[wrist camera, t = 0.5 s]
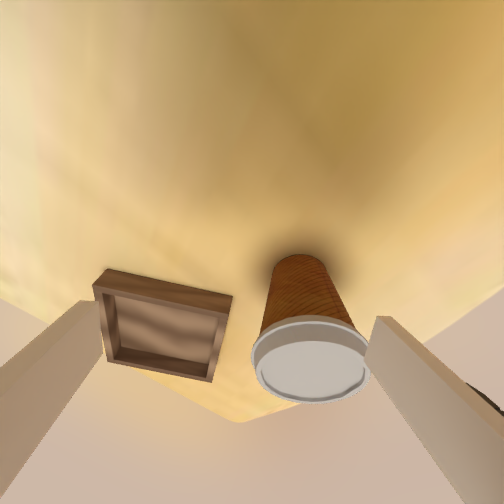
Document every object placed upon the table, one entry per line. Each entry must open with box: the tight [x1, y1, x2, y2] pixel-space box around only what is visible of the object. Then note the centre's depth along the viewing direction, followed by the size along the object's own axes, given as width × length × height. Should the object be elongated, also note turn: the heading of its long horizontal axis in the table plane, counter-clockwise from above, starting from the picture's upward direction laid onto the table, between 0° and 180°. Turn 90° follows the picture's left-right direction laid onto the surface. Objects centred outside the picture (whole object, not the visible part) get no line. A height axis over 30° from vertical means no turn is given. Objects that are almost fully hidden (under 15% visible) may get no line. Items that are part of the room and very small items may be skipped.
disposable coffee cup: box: [251, 255, 371, 404], centre depth 24 cm, size 10×10×12 cm
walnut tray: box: [92, 269, 233, 383], centre depth 34 cm, size 16×16×3 cm
